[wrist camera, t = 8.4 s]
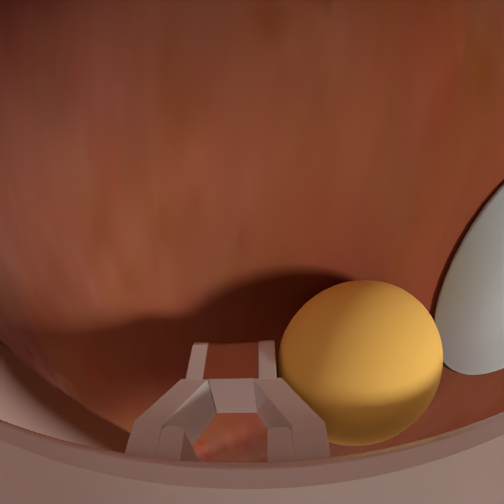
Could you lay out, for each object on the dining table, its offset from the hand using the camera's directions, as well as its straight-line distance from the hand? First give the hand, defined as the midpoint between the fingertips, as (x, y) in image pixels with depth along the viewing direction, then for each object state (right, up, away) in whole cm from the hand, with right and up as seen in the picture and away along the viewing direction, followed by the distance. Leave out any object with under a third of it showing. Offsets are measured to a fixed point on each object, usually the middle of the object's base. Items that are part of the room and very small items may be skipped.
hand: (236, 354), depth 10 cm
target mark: (+15, +2, +1) cm, 15 cm away
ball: (+4, 0, -1) cm, 4 cm away
